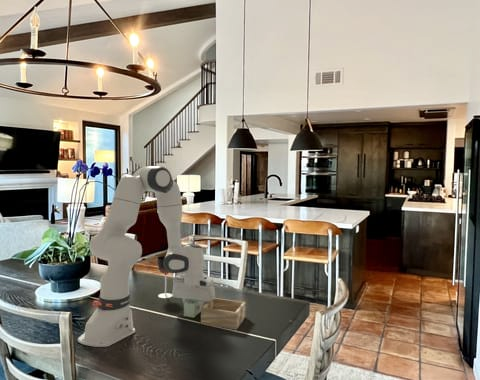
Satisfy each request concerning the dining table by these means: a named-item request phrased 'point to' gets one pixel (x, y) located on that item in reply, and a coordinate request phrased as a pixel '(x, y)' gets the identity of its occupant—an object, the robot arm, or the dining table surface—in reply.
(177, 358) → the dining table surface
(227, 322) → the birch crate
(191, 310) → the green crate
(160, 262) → the wineglass
